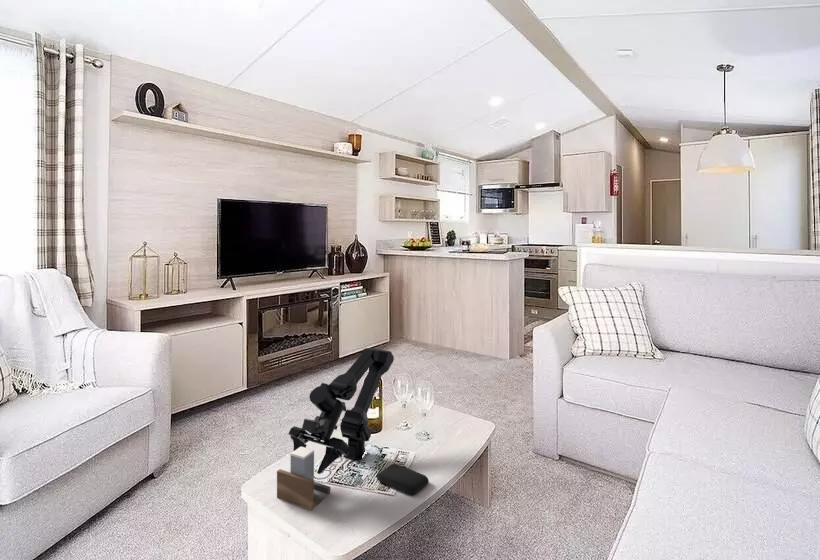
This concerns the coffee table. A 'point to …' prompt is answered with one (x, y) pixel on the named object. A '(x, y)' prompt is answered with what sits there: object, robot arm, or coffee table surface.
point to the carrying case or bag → (402, 479)
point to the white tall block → (303, 462)
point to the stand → (300, 490)
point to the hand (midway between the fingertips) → (305, 469)
